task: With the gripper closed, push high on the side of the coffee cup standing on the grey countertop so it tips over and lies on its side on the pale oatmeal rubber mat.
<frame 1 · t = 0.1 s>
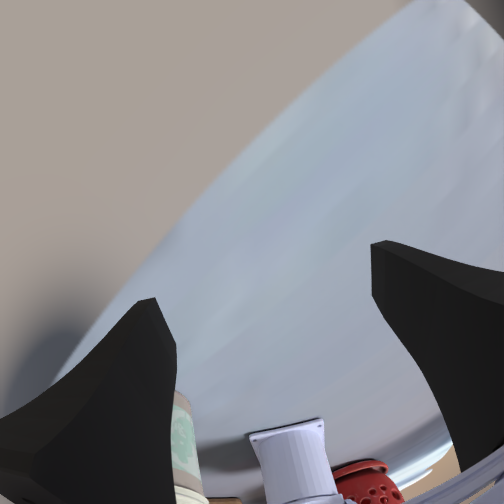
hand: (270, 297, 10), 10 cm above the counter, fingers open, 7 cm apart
coffee cup: (160, 403, 26), on the counter
plant pot: (347, 472, 39), on the counter
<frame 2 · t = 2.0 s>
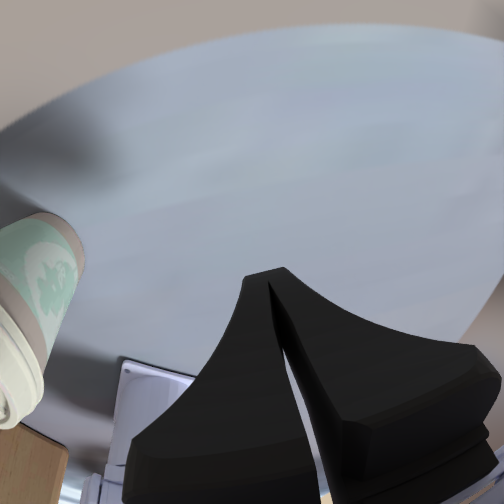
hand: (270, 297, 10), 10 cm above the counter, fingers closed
wooden block: (33, 441, 28), on the counter
coffee cup: (50, 251, 18), on the counter
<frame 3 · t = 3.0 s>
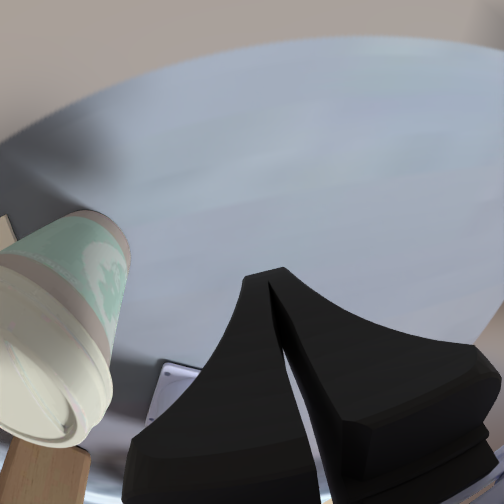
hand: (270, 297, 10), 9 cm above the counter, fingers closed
wooden block: (52, 446, 28), on the counter
coffee cup: (90, 251, 19), on the counter
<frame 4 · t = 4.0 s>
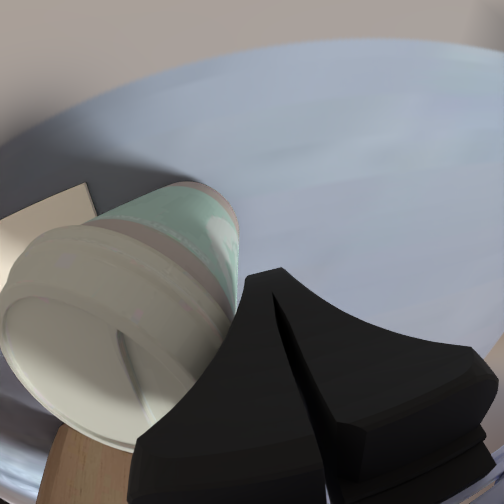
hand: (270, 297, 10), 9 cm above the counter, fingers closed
wooden block: (93, 449, 28), on the counter
coffee cup: (190, 228, 18), on the counter
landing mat: (38, 284, 19), on the counter
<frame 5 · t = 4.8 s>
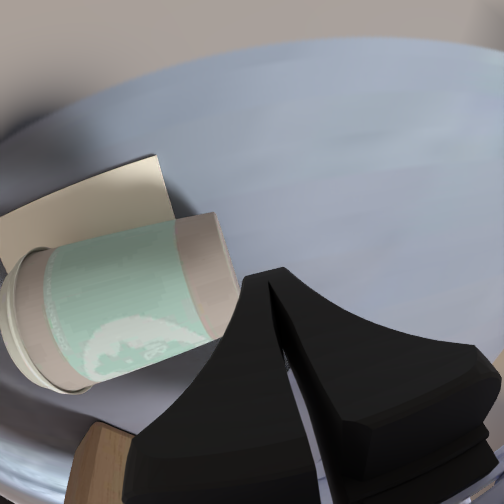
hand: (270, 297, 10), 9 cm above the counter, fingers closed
wooden block: (124, 448, 28), on the counter
coffee cup: (236, 267, 15), point 4 cm above the counter, touching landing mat
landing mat: (86, 268, 19), on the counter
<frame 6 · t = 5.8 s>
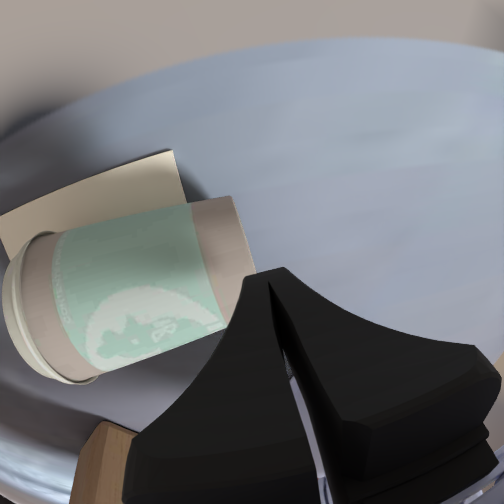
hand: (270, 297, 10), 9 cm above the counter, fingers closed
wooden block: (130, 448, 28), on the counter
coffee cup: (251, 252, 15), point 4 cm above the counter, touching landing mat
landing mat: (97, 264, 19), on the counter
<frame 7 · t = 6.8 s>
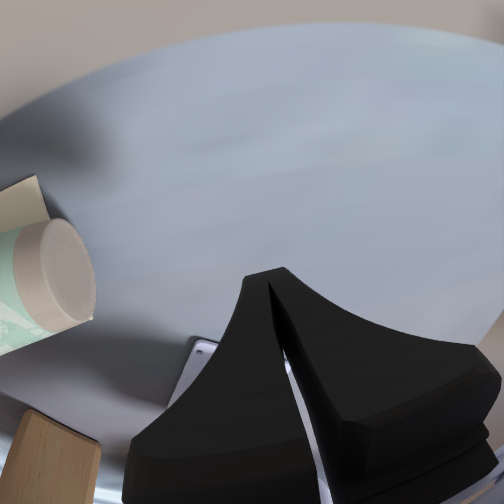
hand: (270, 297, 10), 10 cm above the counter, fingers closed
wooden block: (58, 437, 28), on the counter
coffee cup: (74, 268, 15), point 4 cm above the counter, touching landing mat
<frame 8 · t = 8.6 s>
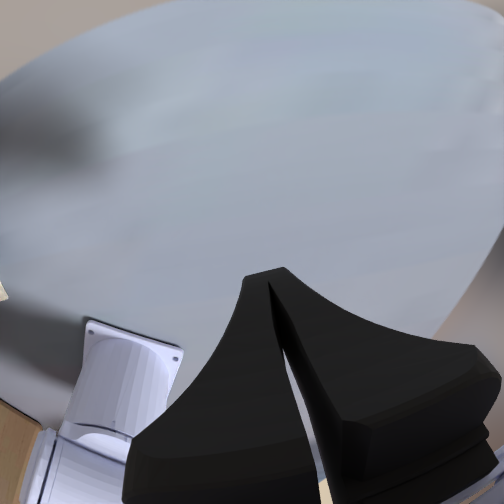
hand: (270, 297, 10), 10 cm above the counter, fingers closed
wooden block: (10, 418, 27), on the counter
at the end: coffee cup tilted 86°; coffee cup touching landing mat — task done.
